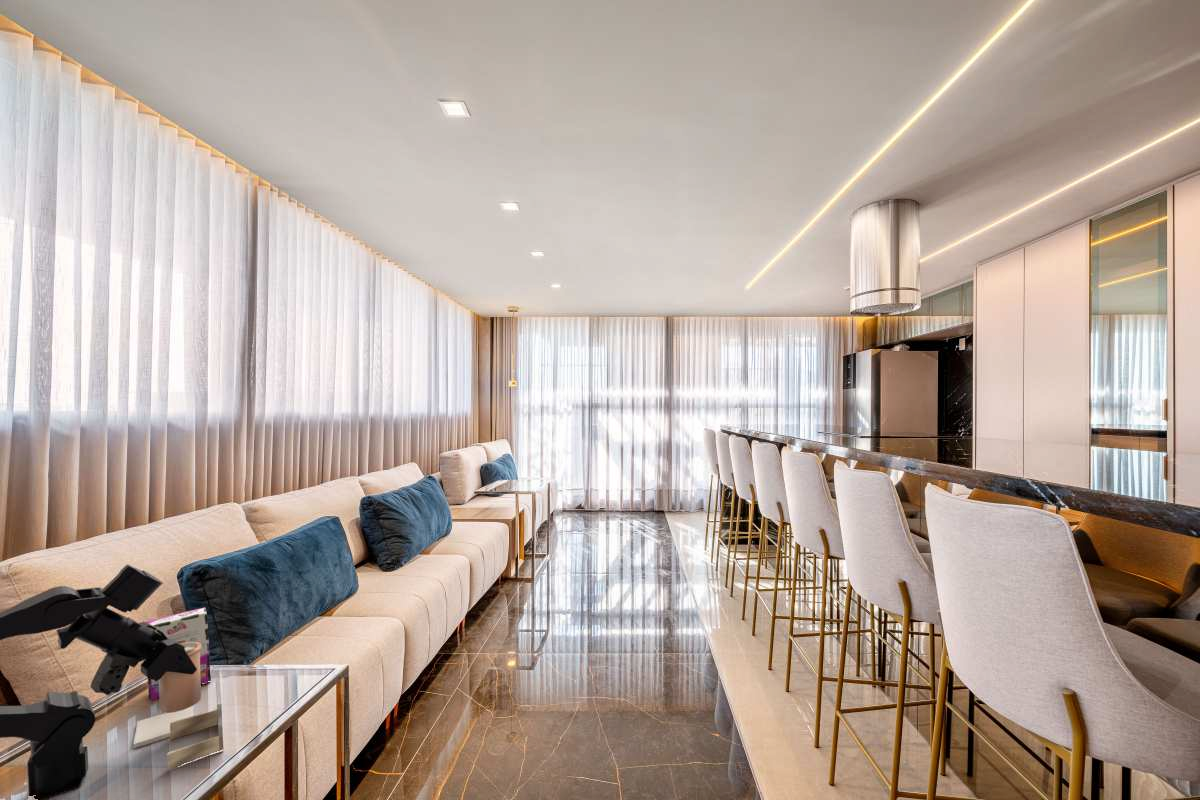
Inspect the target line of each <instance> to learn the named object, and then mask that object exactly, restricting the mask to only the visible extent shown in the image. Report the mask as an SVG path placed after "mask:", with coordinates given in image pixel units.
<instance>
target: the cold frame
mask: <svg viewBox="0 0 1200 800" xmlns="http://www.w3.org/2000/svg"><path fill="white" fill-rule="evenodd" d="M220 679H221V678H220V677H217V678H215V690H216V692H215V693H216V708H214V709H213V708H212V709H211V710H208V711H205V712H200V713H197V714H194V716H191V717H188V718H184V719H181V720H178V721H175V722H172V723H170V736H171V737H170V740H174V739H177V738H181V737H183V736H186V735H189V734H192V733H196V732H199V731H202V730H205V729H208V728H211V727H214V726H217V731H218V732H217V733H218V735H217V736H213V737H211V738H208V739H205V740H202V741H199V742H196V743H193V744H190V745H186V746H184V747H180V748H178V749H175V750H171V751H169V752H167V771H168V772H170V770H171V771H173V770H176V769H178V768H177V767H178V766H181V765H182V764H184V763H187V762H190V761H193V760H195V759H197V758H200V757H203V756H206V755H209V754H211V753H214V752H217V751H220V750H222V749H223V750H224V732H223V731H224V729H223V710H222V709H223V708H222V705H223V704H222V692H221V682H220V681H221V680H220ZM175 768H176V769H175Z"/></svg>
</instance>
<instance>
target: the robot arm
mask: <svg viewBox="0 0 1200 800" xmlns="http://www.w3.org/2000/svg"><path fill="white" fill-rule="evenodd" d="M163 584H164V582H163V581H161V580H160V579H159V578H157V577H155V575H152V574H151V573H149V572H148V571H146V570H144V569H143V570H141V569H139V568H137V567H134V566H132V565H131V564H125V566H124V567H122V569H120V571H119V572H118V574H116V576H114V578H113V579H111V580H110V581H109V582H108V583H107V584H106V585H105V586H104V587H103V588H102V587H101V586H100V587H90V588H89V587H88V588H79V589H75V588H73V587H69V586H66V585H64V586H63V585H58V586H54V587H51V588H48V589H46V590H44V591H42V592H40V593H38V594H35V595H33V596H30V597H28V598H26V599H25V600H22V601H21V602H19V603H16V605H15V604H14V605H13V606H11V607H10V608H8V609H5V610H2V611H1V612H0V641H2V640H4V639H8V638H12V637H17V636H19V637H20V636H27V635H36V634H39V633H44V632H49V631H53V630H54V631H55V630H56V631H55V632H56V634H57V636H58V637H57V643H58V645H59V646H58V647H60V649H62V650H64V649H66V648H68V646H69V645H70V644H71V643H72V642H74V640H75V639H76V640H79V641H81V642H84V643H86V644H88V645H90V646H92V647H95V648H98V649H100V651H102V652H103V653H105V655H104V658H103V659H102V661H101V662H100V664H99V667H98V668H97V671H96V672H95V674H94V676H93V678H92V681H91V682H90V688H91V689H92V691H93V692H95V693H97V694H104V695H106V696H110V695H111V694H112V693H113V694H115V693H119V692H120V690H121V688H123V685H122V684H123V682H124V680H125V678H126V676H127V673H128V672H129V670H130V667H131V668H136V667H137V665H138V664H139V663H140V662H141V664H140V673H142V675H144V676H145V677H146V678H147V679H148V678H150V679H152V680H155V681H158V680H159V679H161V677H162V676H163V675H164V674H165V673H166V672H177V673H184V674H194V673H195V671H196V670H197V668H196V667H195V665H194V663H193V662H192V660H191V659H190V657H189V656H188V654H187V653H186V651H185V647H184V646H183V645H181V644H180V643H178V642H176V641H174V640H172V639H168V638H167V637H166V636H165V634H164V633H163V632H161V631H160V630H156V629H157V628H156V627H154V626H153V625H151V624H149V623H147V622H146V621H141V622H138V621H136V620H135V619H133V618H131V617H126V616H125V615H123V614H121V613H119V612H122V613H127V612H132V611H133V610H134V611H137V610H138V609H139V608H140V607H141V606H142V605H144V603H145V602H146V601H147V600H148V599H149V598H150V597H151V596H152V595H154V594H155V592H156V591H157V590H158V589H159V588H160V587H161V586H162V585H163ZM109 606H110V607H112V608H113V609H115V610H117V611H119V612H117V611H114V610H112V609H110V608H108V607H109ZM155 630H156V631H155ZM44 698H45V699H44V700H42V701H38V702H35V703H32V704H26V705H0V739H3V738H5V739H6V738H16V739H17V738H19V739H23V740H26V741H29V747H30V756H29V758H28V759H27V765H26V766H27V780H28V781H27V783H28V795H29V796H33V795H36V796H34V798H35V799H38V800H46V799H49V798H51V797H55V796H57V795H60V794H62V793H67V792H69V791H73V790H75V789H77V788H79V787H81V786H82V784H83V783H82V782H83V779H84V778H85V777H87V775H88V774H87V773H88V771H89V755H88V751H89V750H88V746H87V745H84V744H83V743H84V742H83V738H84V737H86V736H87V734H89V733H90V732H91V730H92V729H93V728H94V725H95V723H96V714H95V712H94V708H93V704H92V702H91V700H90V698H88V697H87V696H85V695H83V694H82V695H81V694H79V692H78V690H74V691H71V692H56V691H49V692H47V693H46V694H45V697H44Z"/></svg>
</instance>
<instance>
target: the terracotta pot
mask: <svg viewBox="0 0 1200 800" xmlns="http://www.w3.org/2000/svg"><path fill="white" fill-rule="evenodd" d="M181 645H183V646H184V647H185V651H186V653H187V654H188V656H189V657H190V659H191V660H192V662H193V663H194V665H195V667H196V668H197V670H196V671H195V673H194V674H184V673H177V672H166V673H165V674H164V675H163V676H162V677H161V679H159V698H158V700H159V703H158V704H159V711H160V713H162V714H164V713H172V712H177V711H181V710H184V709H187V708H189V707H191V706H193V705H194V706H195V705H196V704H198V703H199V702H200V701H201V699H202V687H201V686H202V685H201V678H200V650H201V643H199V642H186V643H181Z"/></svg>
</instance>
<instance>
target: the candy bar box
mask: <svg viewBox="0 0 1200 800" xmlns="http://www.w3.org/2000/svg"><path fill="white" fill-rule="evenodd" d="M145 622H147V623H149V624H151V625H153V626H154V627H156V628H157V629H156V630H160V631H161V632H163V633H164V634H165V636H166V637H167V638H168V639H172V640H174V641H176V642H178V643H180V644H181V643H186V642H199V643H201V650H200V678H201V684H202V683H206V682H208V681H212V680H211V679H212V677H211V657H210V644H209V643H210V641H209V628H208V627H209V626H208V625H209V624H208V613H207V609H206V607H202V608H201V607H200V608H196V609H193V610H188V611H184V612H180V613H176V614H172V615H167V616H163V617H159V618H154V619H151V620H150V619H149V620H147V621H145ZM156 630H155V631H156ZM147 686H148V687H147V688H148V701H154V699H155V700H157V699H158V700H159V680H158V681H155V680H152V679H150V678H148V677H147Z"/></svg>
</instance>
